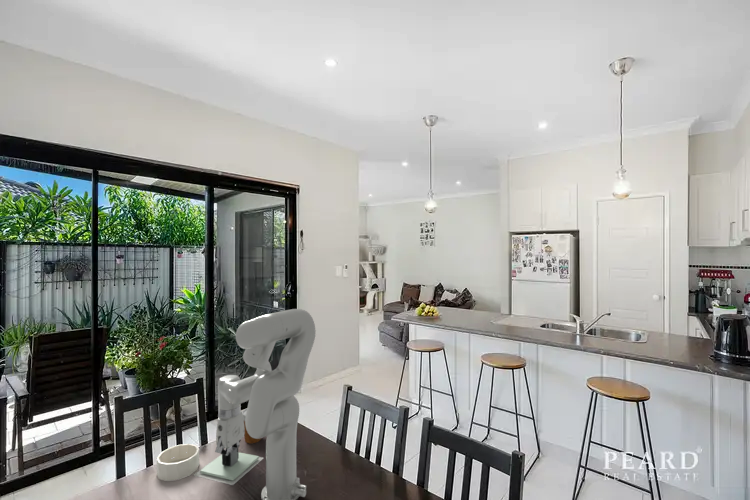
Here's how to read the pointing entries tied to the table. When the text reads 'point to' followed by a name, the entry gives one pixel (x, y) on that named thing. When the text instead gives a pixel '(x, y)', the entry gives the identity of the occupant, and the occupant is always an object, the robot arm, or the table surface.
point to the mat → (226, 481)
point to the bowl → (177, 462)
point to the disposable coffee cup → (247, 437)
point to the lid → (235, 465)
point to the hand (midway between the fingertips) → (230, 461)
